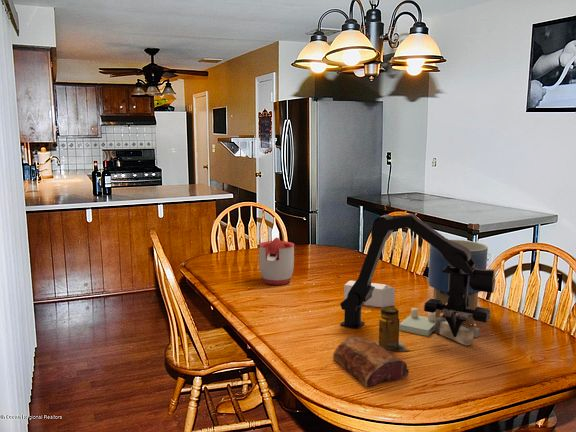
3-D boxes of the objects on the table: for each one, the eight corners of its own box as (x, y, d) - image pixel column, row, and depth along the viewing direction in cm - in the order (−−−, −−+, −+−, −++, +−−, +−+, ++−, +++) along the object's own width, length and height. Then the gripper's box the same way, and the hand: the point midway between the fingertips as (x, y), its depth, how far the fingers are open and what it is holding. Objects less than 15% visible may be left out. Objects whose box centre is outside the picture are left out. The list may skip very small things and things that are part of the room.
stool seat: (428, 336, 167) (428, 321, 166) (398, 330, 172) (399, 315, 171) (439, 325, 177) (439, 311, 176) (410, 319, 182) (411, 305, 181)
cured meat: (368, 342, 162) (369, 321, 161) (421, 375, 140) (422, 351, 139) (318, 353, 154) (318, 332, 153) (365, 390, 132) (366, 365, 131)
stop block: (476, 338, 165) (477, 331, 165) (460, 335, 168) (461, 327, 168) (478, 335, 168) (479, 328, 168) (463, 332, 171) (463, 325, 170)
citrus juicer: (253, 286, 222) (253, 240, 219) (264, 276, 238) (264, 233, 235) (288, 289, 218) (289, 242, 215) (297, 278, 235) (298, 235, 232)
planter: (415, 312, 190) (418, 242, 186) (455, 305, 198) (459, 237, 194) (453, 330, 173) (457, 252, 169) (495, 321, 181) (500, 247, 177)
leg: (432, 331, 170) (433, 318, 170) (440, 329, 172) (441, 316, 171) (465, 345, 158) (466, 332, 158) (473, 343, 160) (474, 330, 159)
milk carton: (343, 302, 201) (392, 309, 193) (343, 284, 200) (393, 290, 192) (348, 297, 207) (396, 303, 200) (349, 280, 206) (396, 285, 199)
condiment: (374, 343, 161) (375, 306, 159) (400, 341, 162) (402, 305, 160) (381, 352, 154) (383, 314, 152) (409, 351, 155) (410, 313, 153)
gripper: (495, 286, 159) (492, 334, 162) (435, 277, 169) (433, 322, 172) (487, 295, 150) (484, 346, 152) (424, 285, 160) (422, 333, 162)
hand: (455, 336), depth 160 cm, fingers closed
